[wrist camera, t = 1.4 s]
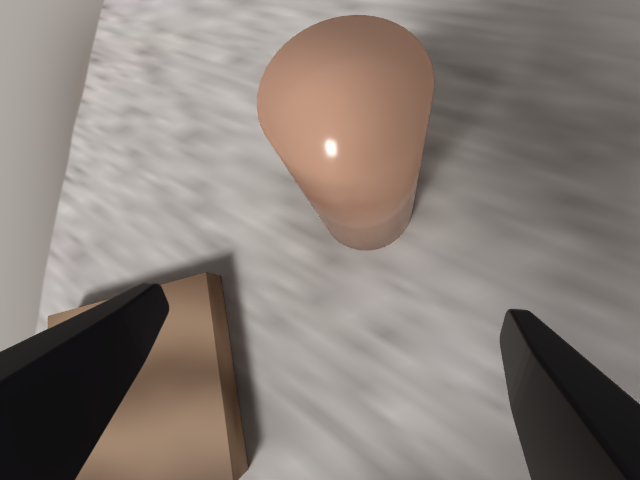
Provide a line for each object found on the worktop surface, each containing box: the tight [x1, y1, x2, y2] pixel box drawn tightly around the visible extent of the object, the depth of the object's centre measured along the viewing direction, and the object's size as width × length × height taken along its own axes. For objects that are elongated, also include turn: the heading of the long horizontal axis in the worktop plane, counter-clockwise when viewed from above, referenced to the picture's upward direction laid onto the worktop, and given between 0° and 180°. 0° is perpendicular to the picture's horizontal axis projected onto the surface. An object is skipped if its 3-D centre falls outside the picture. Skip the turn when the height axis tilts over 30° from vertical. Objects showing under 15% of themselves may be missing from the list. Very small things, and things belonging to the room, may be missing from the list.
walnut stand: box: [48, 272, 248, 480], centre depth 22 cm, size 12×12×2 cm
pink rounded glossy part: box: [257, 15, 434, 250], centre depth 17 cm, size 6×6×12 cm
